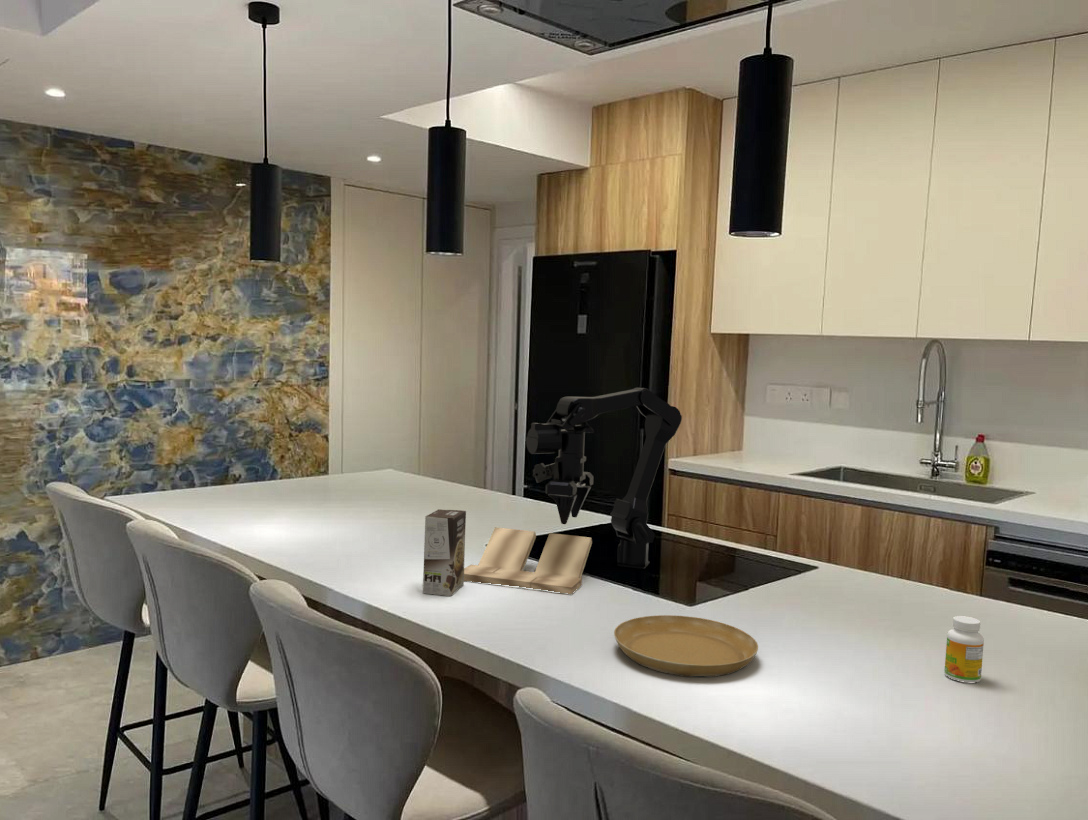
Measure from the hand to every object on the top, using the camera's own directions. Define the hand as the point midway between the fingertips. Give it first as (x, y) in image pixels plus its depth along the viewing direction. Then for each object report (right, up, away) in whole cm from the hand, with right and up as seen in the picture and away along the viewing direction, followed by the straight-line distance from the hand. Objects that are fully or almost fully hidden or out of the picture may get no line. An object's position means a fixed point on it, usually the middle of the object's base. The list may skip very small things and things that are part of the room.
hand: (569, 520), depth 197 cm
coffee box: (-27, -12, -17) cm, 34 cm away
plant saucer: (+18, -17, -50) cm, 56 cm away
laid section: (-11, -12, -10) cm, 19 cm away
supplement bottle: (+62, -19, -56) cm, 86 cm away
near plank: (-1, -8, -2) cm, 9 cm away
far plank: (-14, -8, +2) cm, 16 cm away
